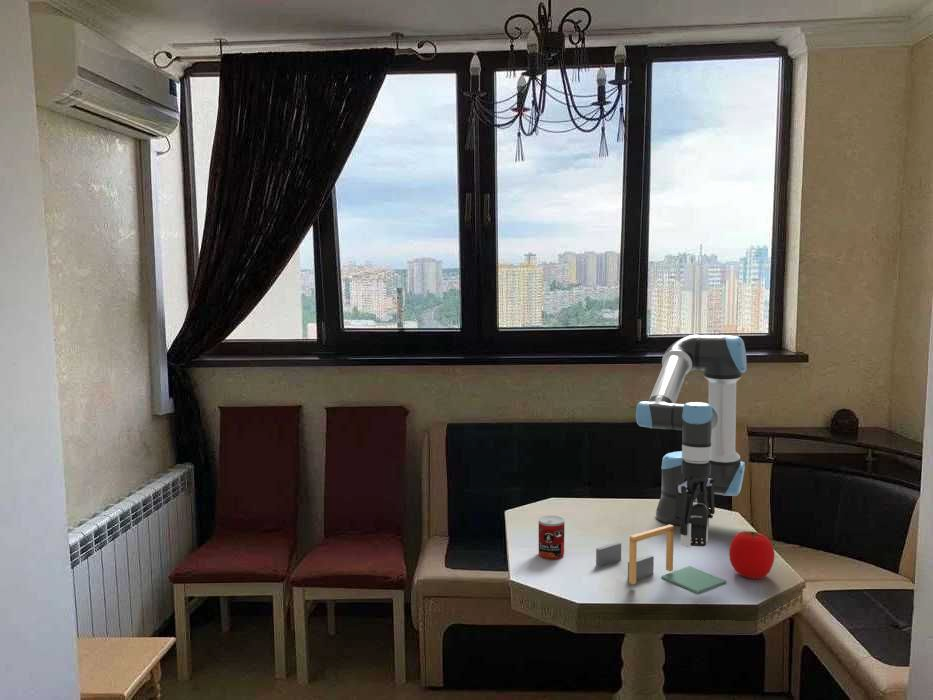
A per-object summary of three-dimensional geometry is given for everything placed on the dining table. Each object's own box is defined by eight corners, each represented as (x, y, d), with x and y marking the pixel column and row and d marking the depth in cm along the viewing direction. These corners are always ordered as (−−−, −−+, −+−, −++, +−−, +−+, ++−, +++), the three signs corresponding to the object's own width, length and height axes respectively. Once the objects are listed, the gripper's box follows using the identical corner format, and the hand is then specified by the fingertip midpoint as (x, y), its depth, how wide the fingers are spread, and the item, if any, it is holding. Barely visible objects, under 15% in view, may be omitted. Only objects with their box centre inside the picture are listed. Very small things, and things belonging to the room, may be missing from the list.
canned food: (535, 558, 205) (535, 522, 204) (542, 548, 213) (542, 514, 212) (561, 561, 202) (561, 525, 202) (566, 552, 210) (566, 516, 209)
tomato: (751, 587, 184) (752, 541, 183) (719, 571, 195) (720, 527, 194) (785, 579, 189) (786, 534, 188) (751, 564, 200) (753, 521, 199)
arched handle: (668, 568, 193) (669, 524, 192) (672, 570, 192) (673, 525, 191) (628, 582, 184) (629, 536, 183) (632, 584, 183) (633, 537, 182)
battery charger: (680, 546, 187) (681, 505, 186) (679, 541, 190) (680, 501, 189) (707, 548, 185) (709, 507, 184) (706, 543, 189) (707, 502, 188)
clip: (618, 558, 205) (618, 542, 204) (653, 573, 193) (653, 556, 193) (596, 565, 200) (596, 548, 199) (631, 581, 188) (631, 563, 188)
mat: (689, 568, 197) (689, 566, 197) (726, 582, 187) (726, 580, 187) (661, 577, 190) (661, 575, 190) (697, 593, 180) (697, 591, 180)
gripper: (707, 452, 194) (705, 532, 196) (660, 462, 184) (659, 546, 185) (730, 457, 188) (728, 540, 190) (683, 468, 177) (682, 555, 179)
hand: (694, 543), depth 188 cm, fingers closed on battery charger, 6 cm apart
